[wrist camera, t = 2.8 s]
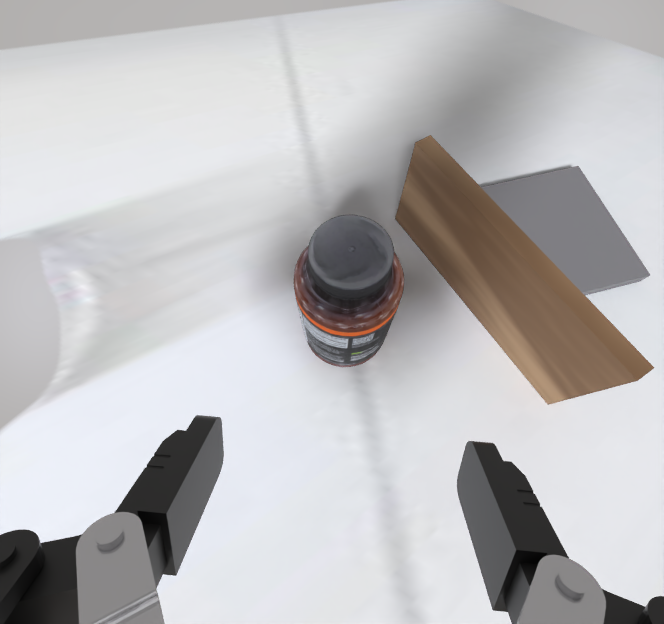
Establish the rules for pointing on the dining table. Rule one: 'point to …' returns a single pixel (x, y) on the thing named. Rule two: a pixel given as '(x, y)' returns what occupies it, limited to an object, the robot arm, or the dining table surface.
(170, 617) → the dining table surface
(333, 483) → the dining table surface
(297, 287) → the supplement bottle
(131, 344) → the dining table surface
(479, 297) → the walnut screen
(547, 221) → the charcoal pad
